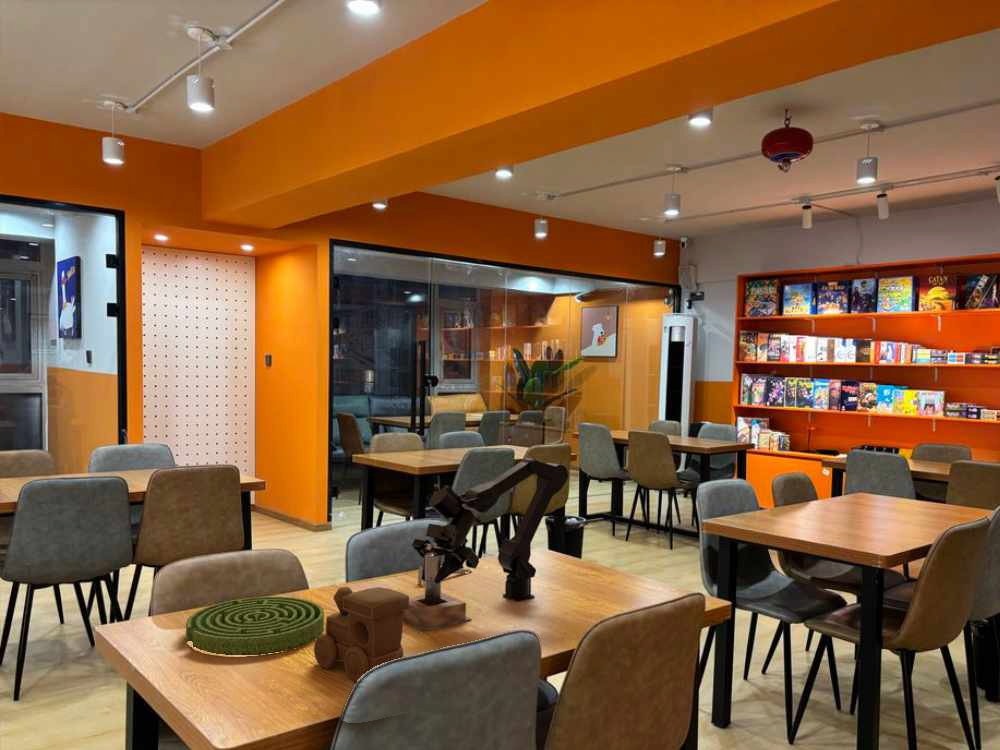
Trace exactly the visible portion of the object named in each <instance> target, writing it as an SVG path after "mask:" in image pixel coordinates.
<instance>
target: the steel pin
mask: <svg viewBox="0 0 1000 750" xmlns="http://www.w3.org/2000/svg"><path fill="white" fill-rule="evenodd" d="M441 567H442V555H441V554H440V553H427V554H425V583H424V594H425V605H427V606H433V605H437V604H441V593H442V592H441V591H442V581H441V582H439V583H438V584H436V583H435V579H436V576H437V574H438V572H439V570H440V568H441Z"/></svg>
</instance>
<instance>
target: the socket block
mask: <svg viewBox="0 0 1000 750" xmlns="http://www.w3.org/2000/svg"><path fill="white" fill-rule="evenodd" d="M466 609H467V603H466V602H465V601H462V600H460V599H458V598H455V597H452V596H450V595H448V594H446V593H443V592H441V604H437V605H433V606H427V605H425V593H424V594H420V595H415V596H409V609H406V610H403V623H405V624H407V625H410V626H411V627H413V628H415V629H417V630H419V631H421V632H423V633H426V632H429V631H434V630H437V629H441V628H446V627H447V628H448V627H451V626H454V625H458V624H463V623H466V622H471V621H472V618H470V617H468V616H467V615H466V614H467V613H466V612H467V610H466Z"/></svg>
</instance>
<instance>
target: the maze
mask: <svg viewBox="0 0 1000 750" xmlns="http://www.w3.org/2000/svg"><path fill="white" fill-rule="evenodd" d="M324 615H325V612H324V608H323V607H322V606H321V605H319V604H318V603H316V602H314V601H312V600H308V599H304V598H298V597H293V596H292V597H288V596H258V597H257V596H256V597H247V598H238V599H233V600H228V601H223V602H219V603H216V604H212V605H210V606H206V607H204V608H202V609H199V610H198V611H196V612H194V613H193V614H192V615H190V616H189V617H188V618H187V620H186V623H185V639H186V638H187V642H188V641H192V642H193V647H196V648H198V649H200V650H204V651H207V652H211V653H216V654H225V655H261V654H268V653H275V652H281V651H286V650H290V651H292V650H291V649H294V648H296V649H299V648H301V647H304V646H307V645H309V644H311V643H313V642H315V641H316V640H315V639H317V638H318V637H319V636H320V635H322V634H323V633H324V631H325V630H324V629H325V628H324V626H325V625H324V622H325V621H324V620H325V618H324ZM322 632H323V633H322ZM314 640H315V641H314ZM312 641H313V642H312ZM187 642H186V643H187ZM310 642H311V643H310ZM308 643H309V644H308ZM306 644H307V645H306ZM298 647H299V648H298ZM294 650H295V649H294ZM286 652H287V651H286Z"/></svg>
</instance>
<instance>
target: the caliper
mask: <svg viewBox="0 0 1000 750" xmlns="http://www.w3.org/2000/svg"><path fill="white" fill-rule="evenodd" d="M423 566H424V562H421V566H419V568H418V572H417V583H418V584H419V583H420V585H422V584H421V583H423V582H425V581H423V580H422V572H423ZM469 571H471V568H470V569H469V568H463V569H459V570H457V571H456V572H454V573H452V574H451V575H455V574H456V575H457V574H458V575H463V574H462V573H465V572H469ZM469 573H470V572H469Z"/></svg>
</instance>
